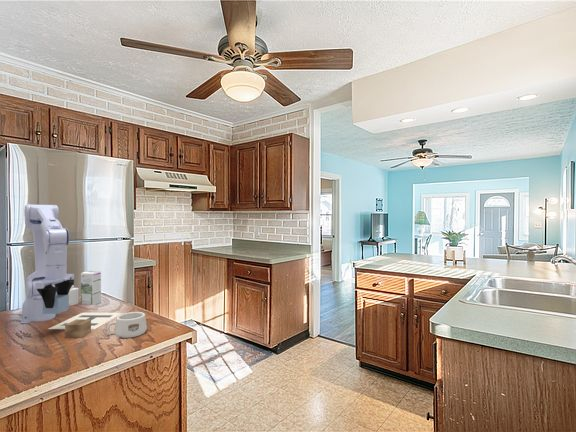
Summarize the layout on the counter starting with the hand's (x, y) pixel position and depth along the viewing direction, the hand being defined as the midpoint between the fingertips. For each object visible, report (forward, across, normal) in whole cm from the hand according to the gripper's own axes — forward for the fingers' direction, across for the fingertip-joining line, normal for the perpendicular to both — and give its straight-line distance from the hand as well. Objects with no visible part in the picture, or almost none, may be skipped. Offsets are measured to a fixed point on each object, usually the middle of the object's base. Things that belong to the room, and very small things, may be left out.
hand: (55, 305), depth 103 cm
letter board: (+9, +11, -4) cm, 15 cm away
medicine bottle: (+10, +33, +20) cm, 40 cm away
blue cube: (+2, 0, 0) cm, 2 cm away
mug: (+10, 0, -24) cm, 26 cm away
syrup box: (+10, +35, +10) cm, 38 cm away
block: (+10, -3, -10) cm, 14 cm away
